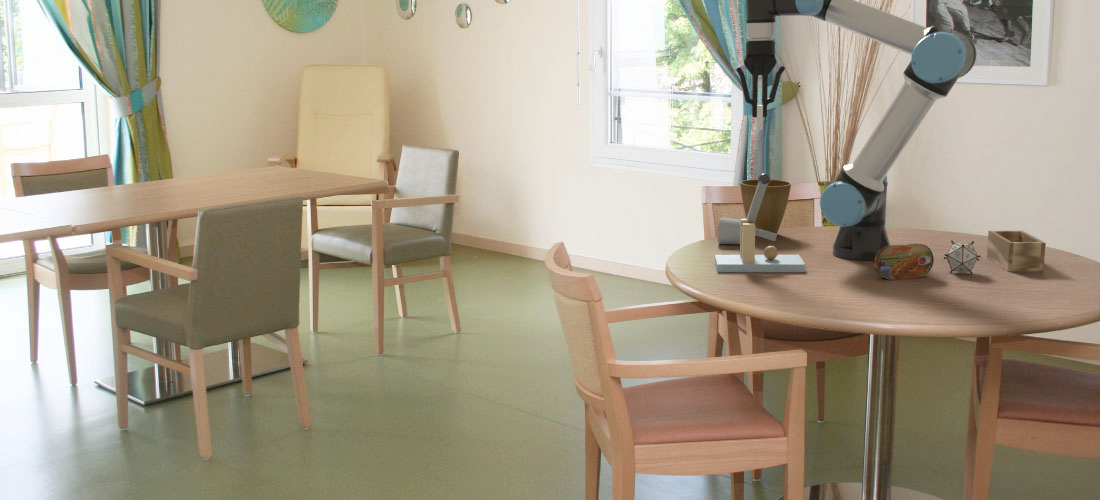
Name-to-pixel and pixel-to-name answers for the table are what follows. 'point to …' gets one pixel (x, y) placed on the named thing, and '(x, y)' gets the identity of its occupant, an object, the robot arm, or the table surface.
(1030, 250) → the box
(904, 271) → the tin
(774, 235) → the lever
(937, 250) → the table surface
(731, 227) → the ceramic mug
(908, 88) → the robot arm
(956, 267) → the game die
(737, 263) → the base
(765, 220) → the plant pot
